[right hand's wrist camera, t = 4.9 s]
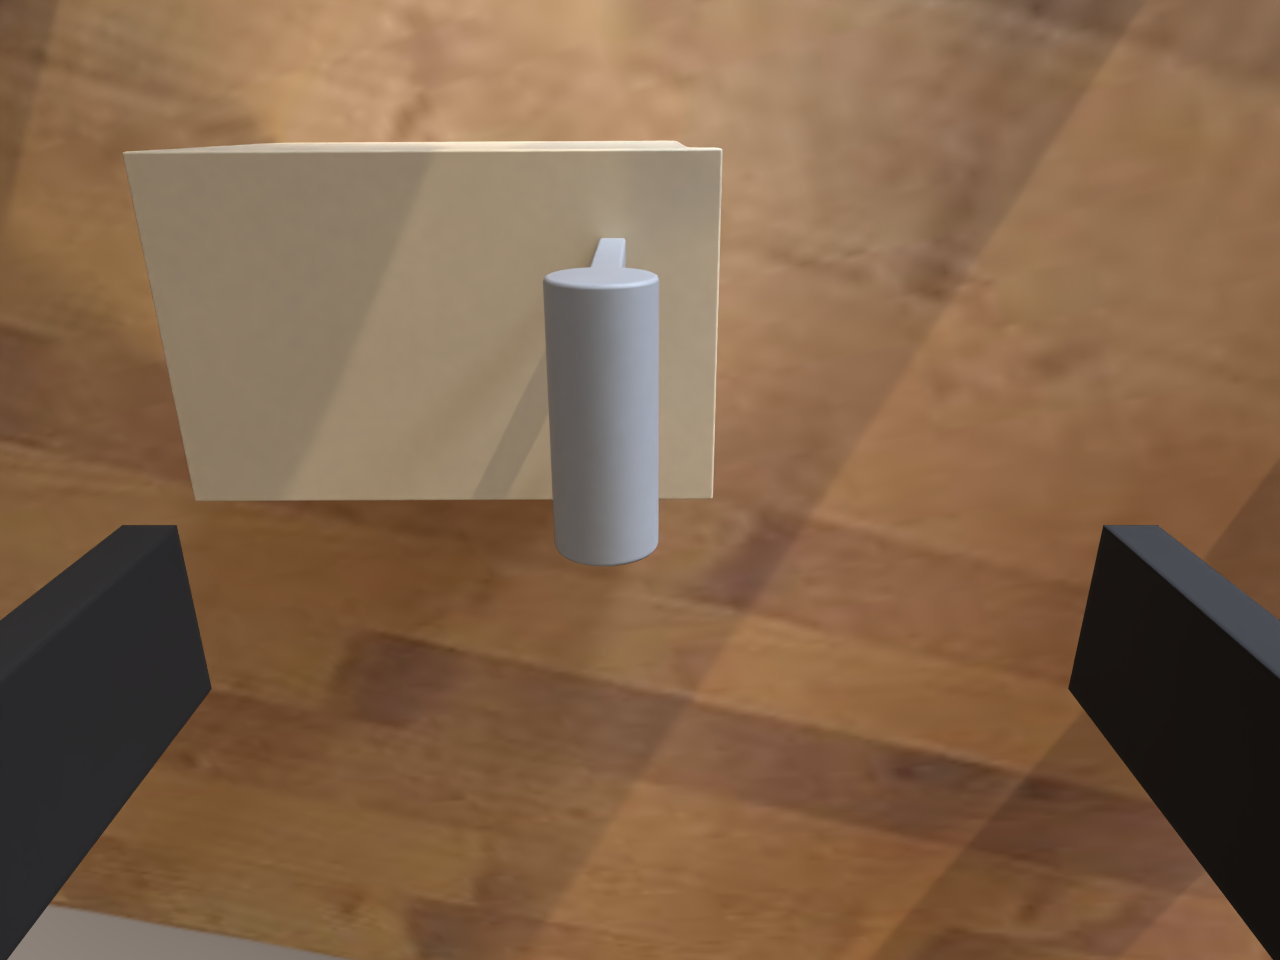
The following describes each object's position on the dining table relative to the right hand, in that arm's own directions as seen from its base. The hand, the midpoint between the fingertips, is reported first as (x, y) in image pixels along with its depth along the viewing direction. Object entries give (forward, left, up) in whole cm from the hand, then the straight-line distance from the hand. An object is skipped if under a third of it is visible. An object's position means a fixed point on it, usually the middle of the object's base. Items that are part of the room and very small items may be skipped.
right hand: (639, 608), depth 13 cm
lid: (+2, -5, -14) cm, 15 cm away
